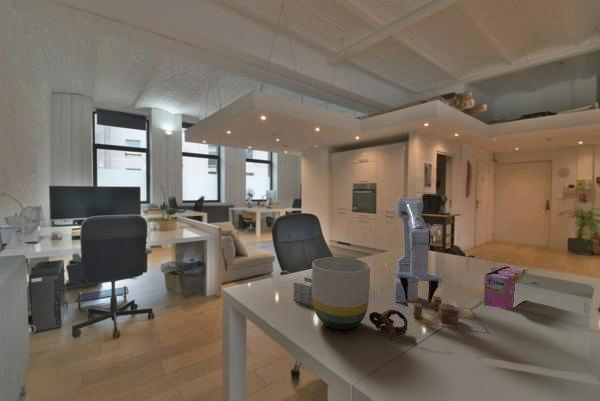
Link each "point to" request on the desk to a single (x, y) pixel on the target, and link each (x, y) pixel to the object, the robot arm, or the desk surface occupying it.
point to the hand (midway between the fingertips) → (417, 300)
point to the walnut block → (448, 314)
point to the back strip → (460, 311)
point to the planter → (340, 291)
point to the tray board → (461, 317)
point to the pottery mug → (389, 322)
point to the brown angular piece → (427, 316)
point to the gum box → (501, 287)
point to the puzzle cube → (303, 291)
